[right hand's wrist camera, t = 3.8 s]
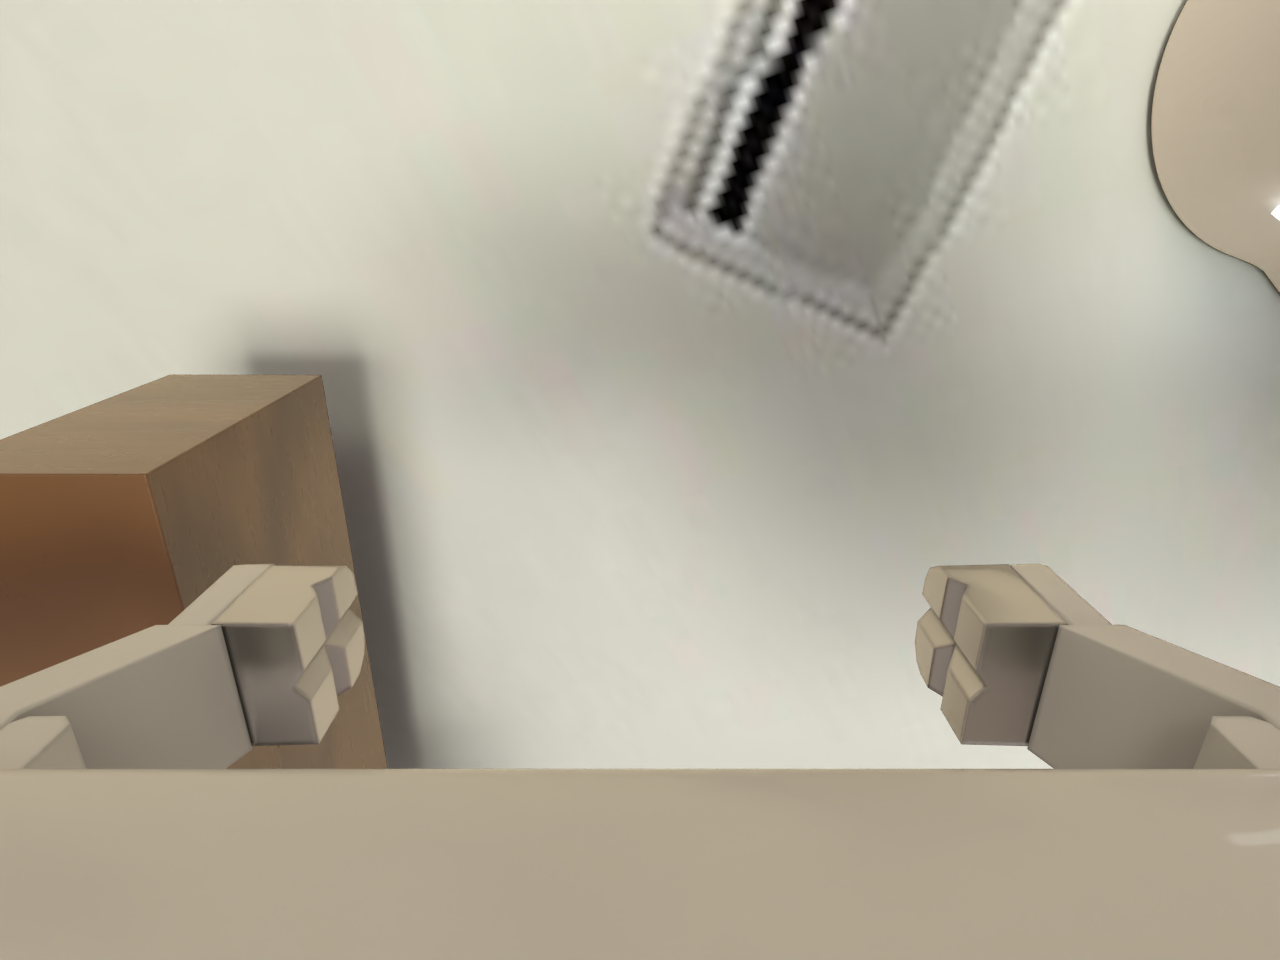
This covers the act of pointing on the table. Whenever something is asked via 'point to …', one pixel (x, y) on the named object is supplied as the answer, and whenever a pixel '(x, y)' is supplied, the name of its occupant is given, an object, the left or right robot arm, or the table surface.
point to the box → (173, 525)
